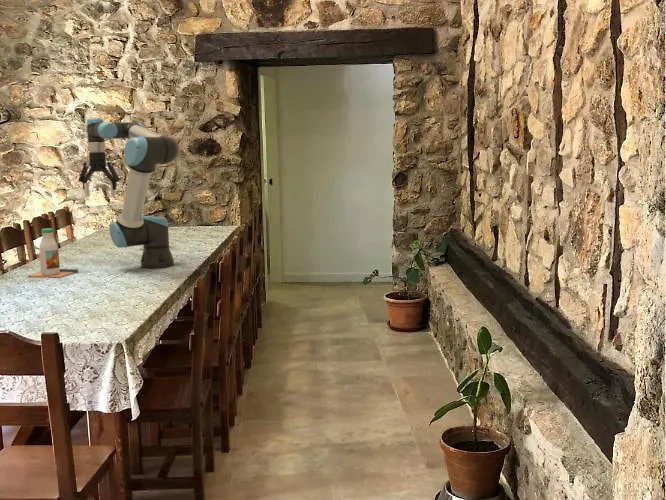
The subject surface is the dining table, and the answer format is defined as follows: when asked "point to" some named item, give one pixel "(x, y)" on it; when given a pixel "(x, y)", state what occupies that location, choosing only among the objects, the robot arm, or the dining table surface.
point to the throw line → (69, 270)
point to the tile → (51, 275)
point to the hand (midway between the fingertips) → (100, 196)
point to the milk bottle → (49, 253)
